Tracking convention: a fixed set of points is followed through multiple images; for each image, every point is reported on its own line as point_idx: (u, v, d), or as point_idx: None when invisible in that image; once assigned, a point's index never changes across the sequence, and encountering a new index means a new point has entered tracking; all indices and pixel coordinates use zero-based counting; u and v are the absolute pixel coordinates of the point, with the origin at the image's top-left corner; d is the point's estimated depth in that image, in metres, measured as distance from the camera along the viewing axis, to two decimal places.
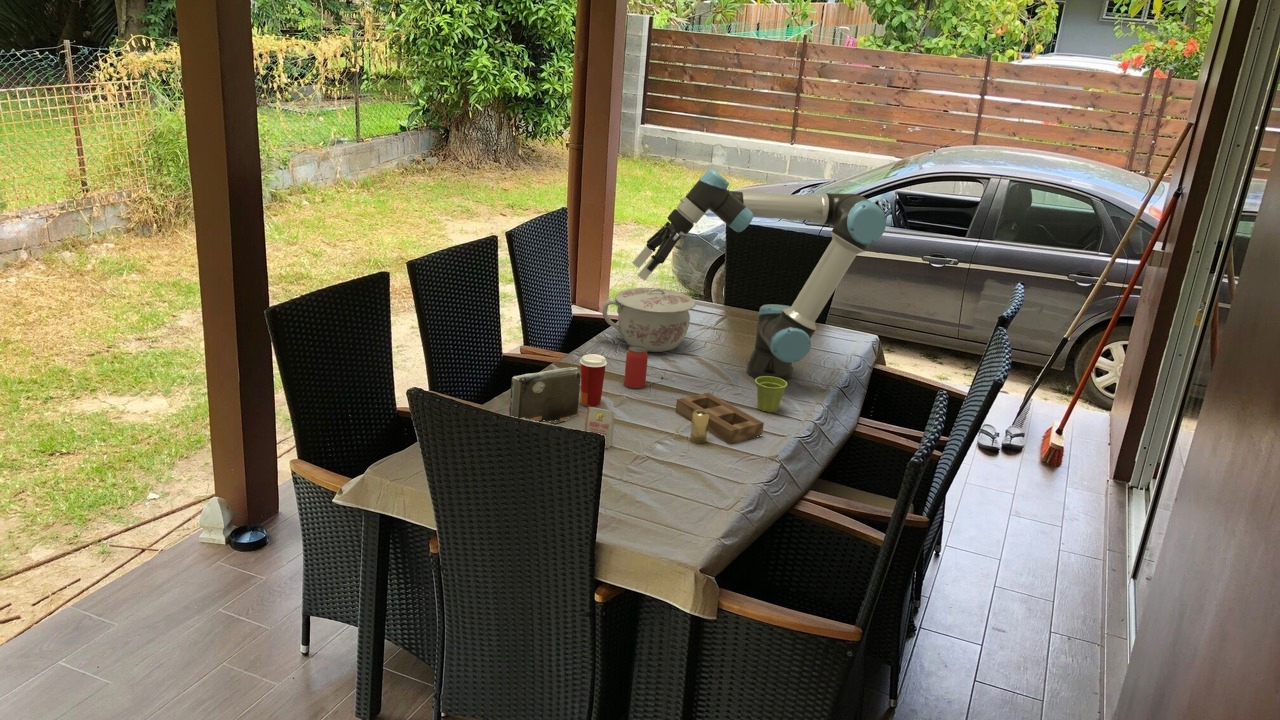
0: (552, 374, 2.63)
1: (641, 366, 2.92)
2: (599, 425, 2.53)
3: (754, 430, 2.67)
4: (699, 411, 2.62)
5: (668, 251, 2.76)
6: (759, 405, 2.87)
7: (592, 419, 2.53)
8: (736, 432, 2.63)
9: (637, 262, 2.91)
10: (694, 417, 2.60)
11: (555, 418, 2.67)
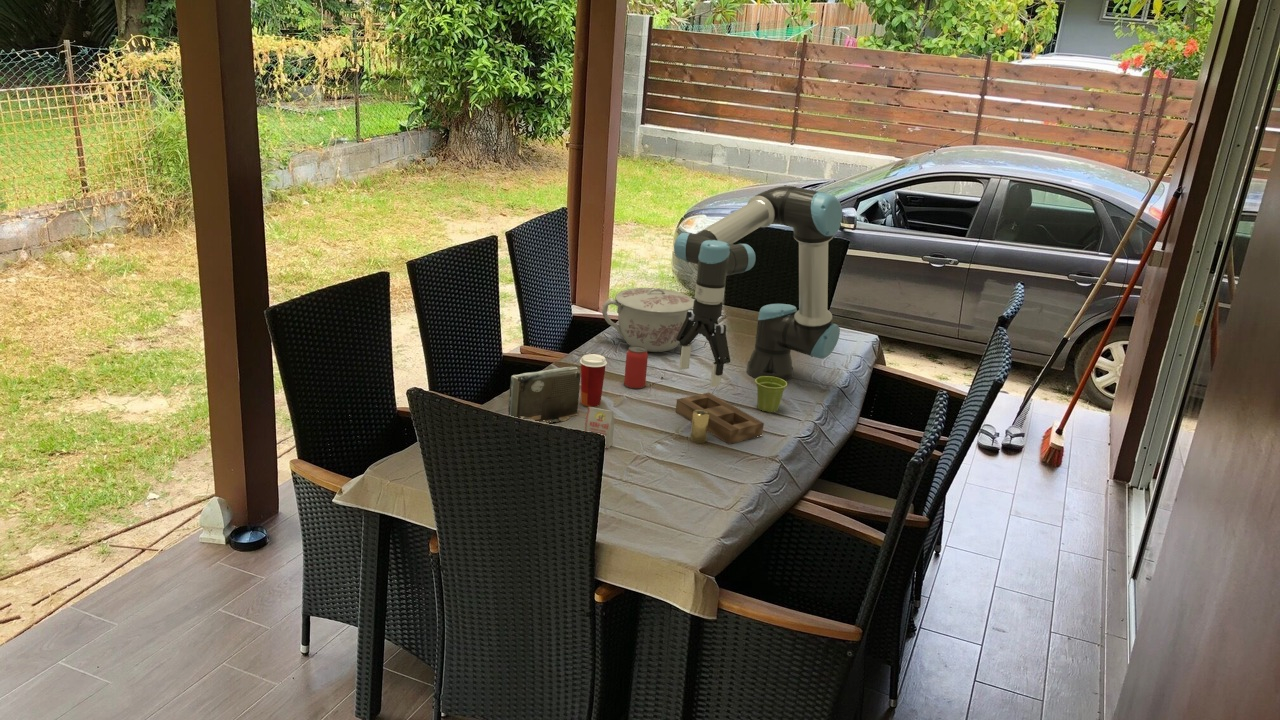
0: (551, 373, 2.64)
1: (641, 366, 2.92)
2: (599, 425, 2.53)
3: (754, 430, 2.67)
4: (699, 411, 2.62)
5: (726, 347, 2.49)
6: (759, 405, 2.87)
7: (592, 419, 2.53)
8: (736, 432, 2.63)
9: (684, 364, 2.63)
10: (694, 417, 2.60)
11: (554, 417, 2.68)
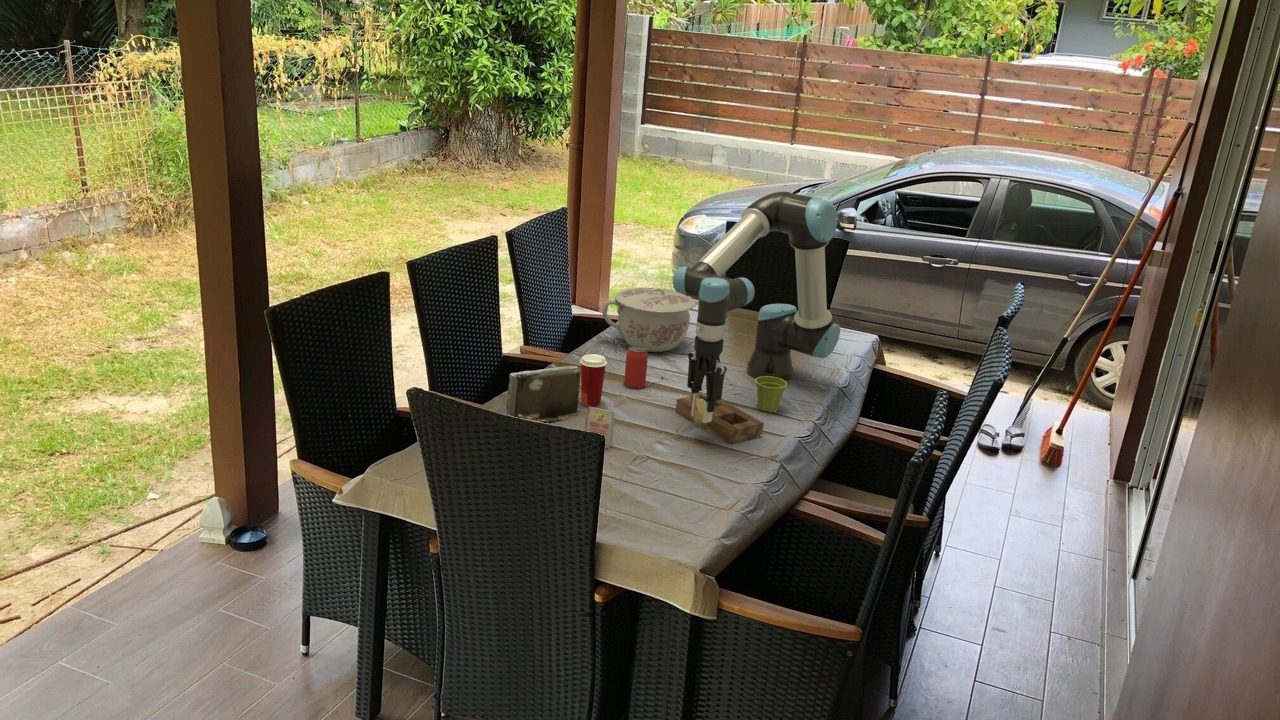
0: (550, 372, 2.65)
1: (641, 366, 2.92)
2: (599, 425, 2.53)
3: (754, 430, 2.67)
4: (702, 396, 2.61)
5: (721, 387, 2.54)
6: (759, 405, 2.87)
7: (592, 419, 2.53)
8: (736, 432, 2.63)
9: None
10: (697, 402, 2.59)
11: (553, 416, 2.69)
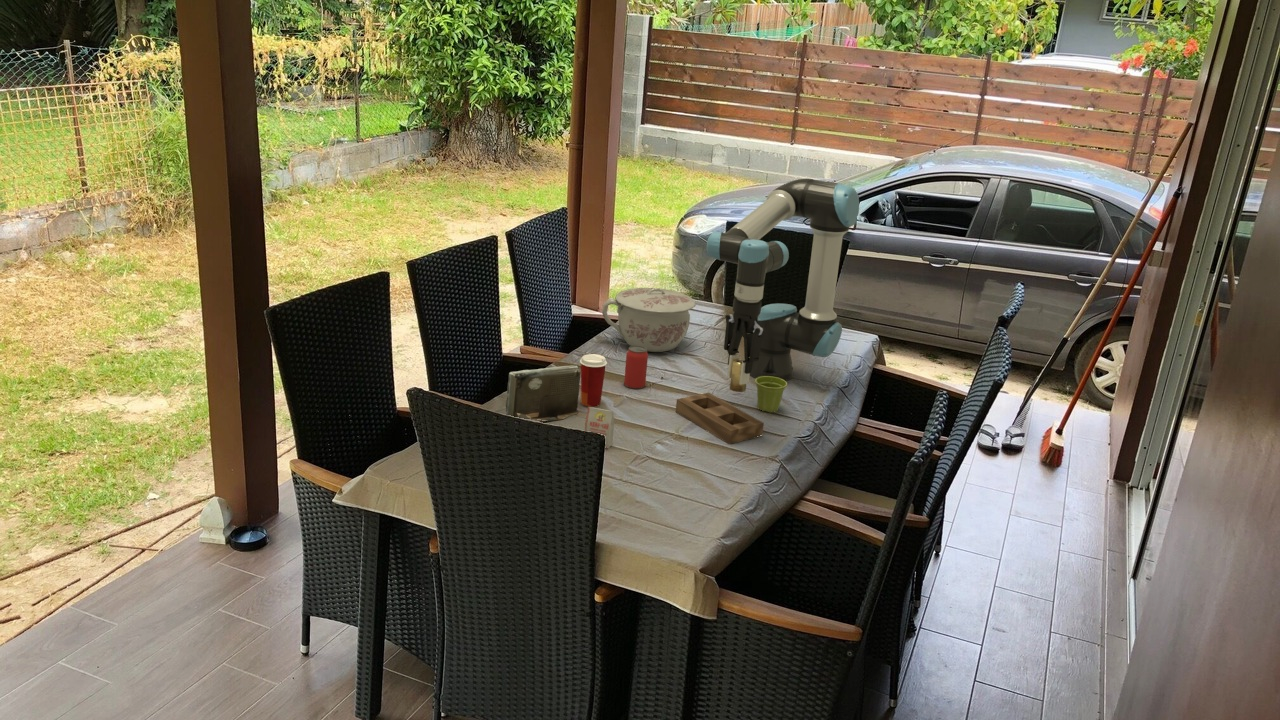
0: (550, 371, 2.65)
1: (641, 366, 2.92)
2: (599, 425, 2.53)
3: (754, 430, 2.67)
4: (739, 360, 2.64)
5: (759, 348, 2.57)
6: (759, 405, 2.87)
7: (592, 419, 2.53)
8: (736, 432, 2.63)
9: None
10: (734, 366, 2.63)
11: (553, 415, 2.69)
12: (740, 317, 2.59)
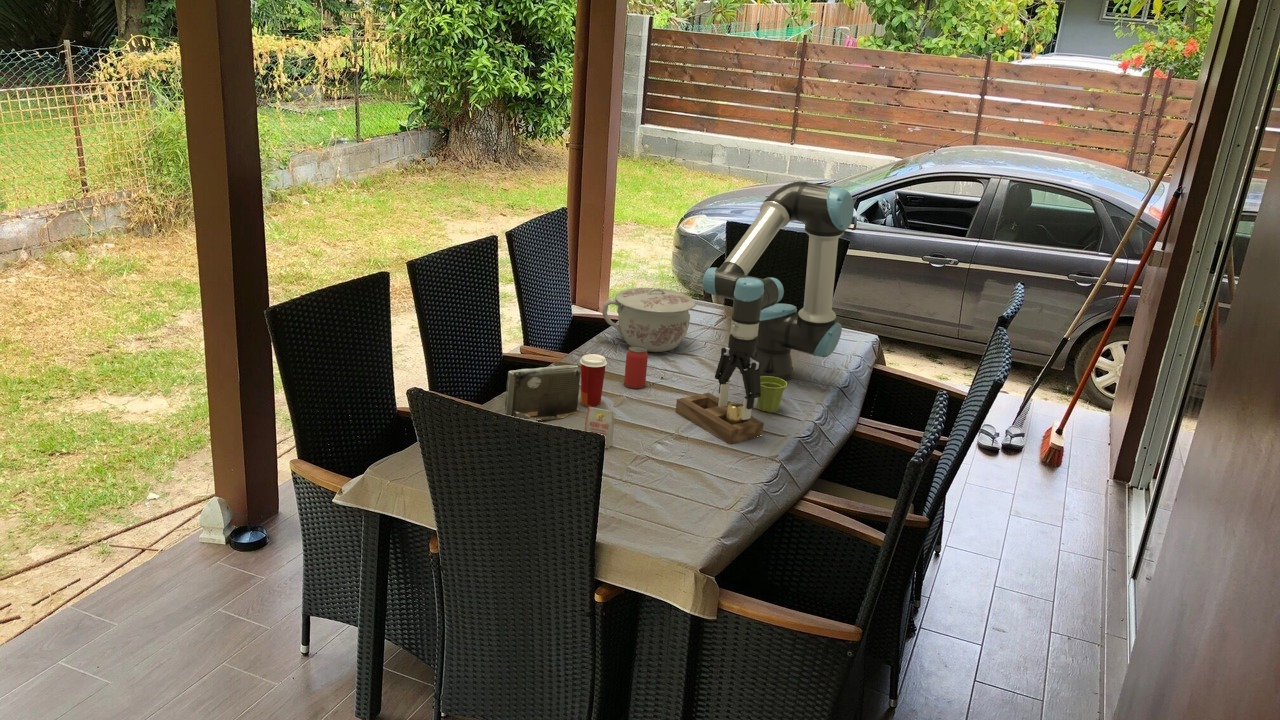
0: (549, 370, 2.66)
1: (641, 366, 2.92)
2: (599, 425, 2.53)
3: (754, 430, 2.67)
4: (733, 403, 2.69)
5: (758, 382, 2.60)
6: (759, 405, 2.87)
7: (592, 419, 2.53)
8: (736, 432, 2.63)
9: (723, 402, 2.71)
10: (729, 409, 2.67)
11: (552, 414, 2.70)
12: (735, 355, 2.63)
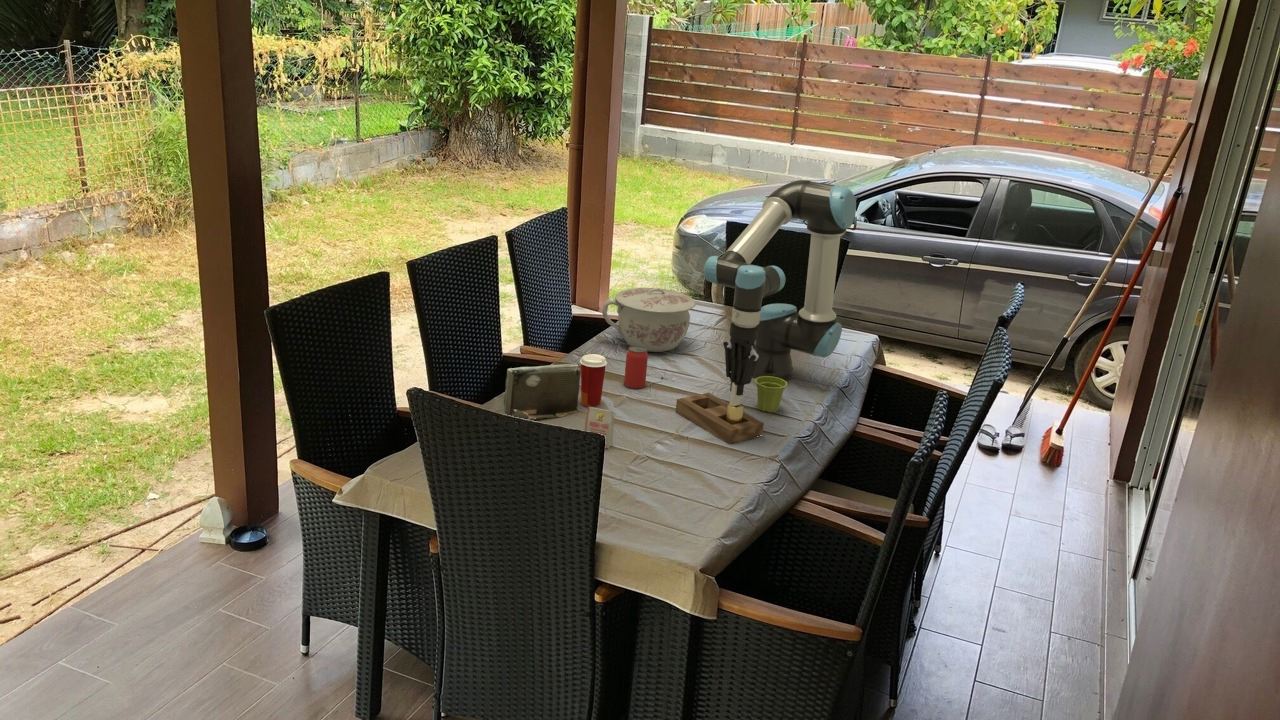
0: (549, 369, 2.67)
1: (641, 366, 2.92)
2: (599, 425, 2.53)
3: (754, 430, 2.67)
4: None
5: (752, 372, 2.61)
6: (759, 405, 2.87)
7: (592, 419, 2.53)
8: (736, 432, 2.63)
9: None
10: (729, 409, 2.67)
11: (551, 413, 2.71)
12: (737, 340, 2.62)
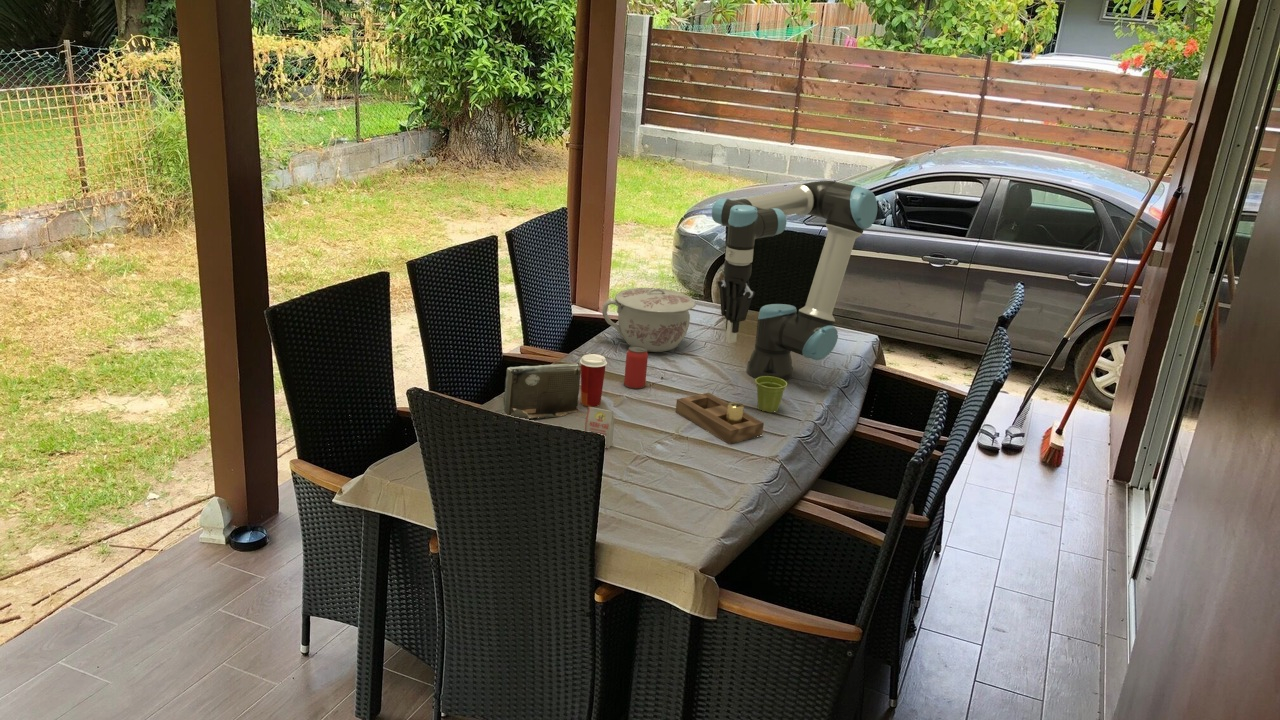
0: (548, 368, 2.67)
1: (641, 366, 2.92)
2: (599, 425, 2.53)
3: (754, 430, 2.67)
4: (733, 403, 2.69)
5: (747, 309, 2.69)
6: (759, 405, 2.87)
7: (592, 419, 2.53)
8: (736, 432, 2.63)
9: None
10: (729, 409, 2.67)
11: (551, 412, 2.71)
12: (731, 278, 2.70)
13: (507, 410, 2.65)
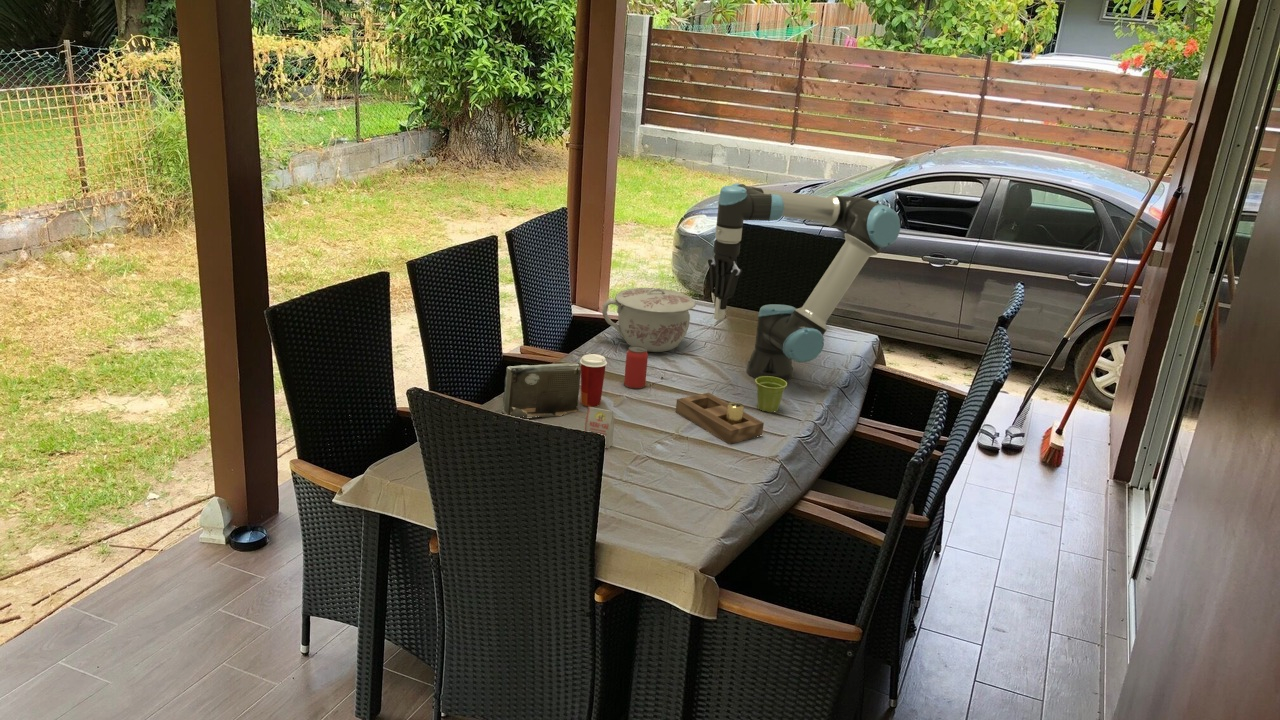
0: (548, 368, 2.68)
1: (641, 366, 2.92)
2: (599, 425, 2.53)
3: (754, 430, 2.67)
4: (733, 403, 2.69)
5: (734, 286, 2.80)
6: (759, 405, 2.87)
7: (592, 419, 2.53)
8: (736, 432, 2.63)
9: None
10: (729, 409, 2.67)
11: (551, 412, 2.71)
12: (720, 256, 2.81)
13: (506, 409, 2.66)
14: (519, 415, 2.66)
